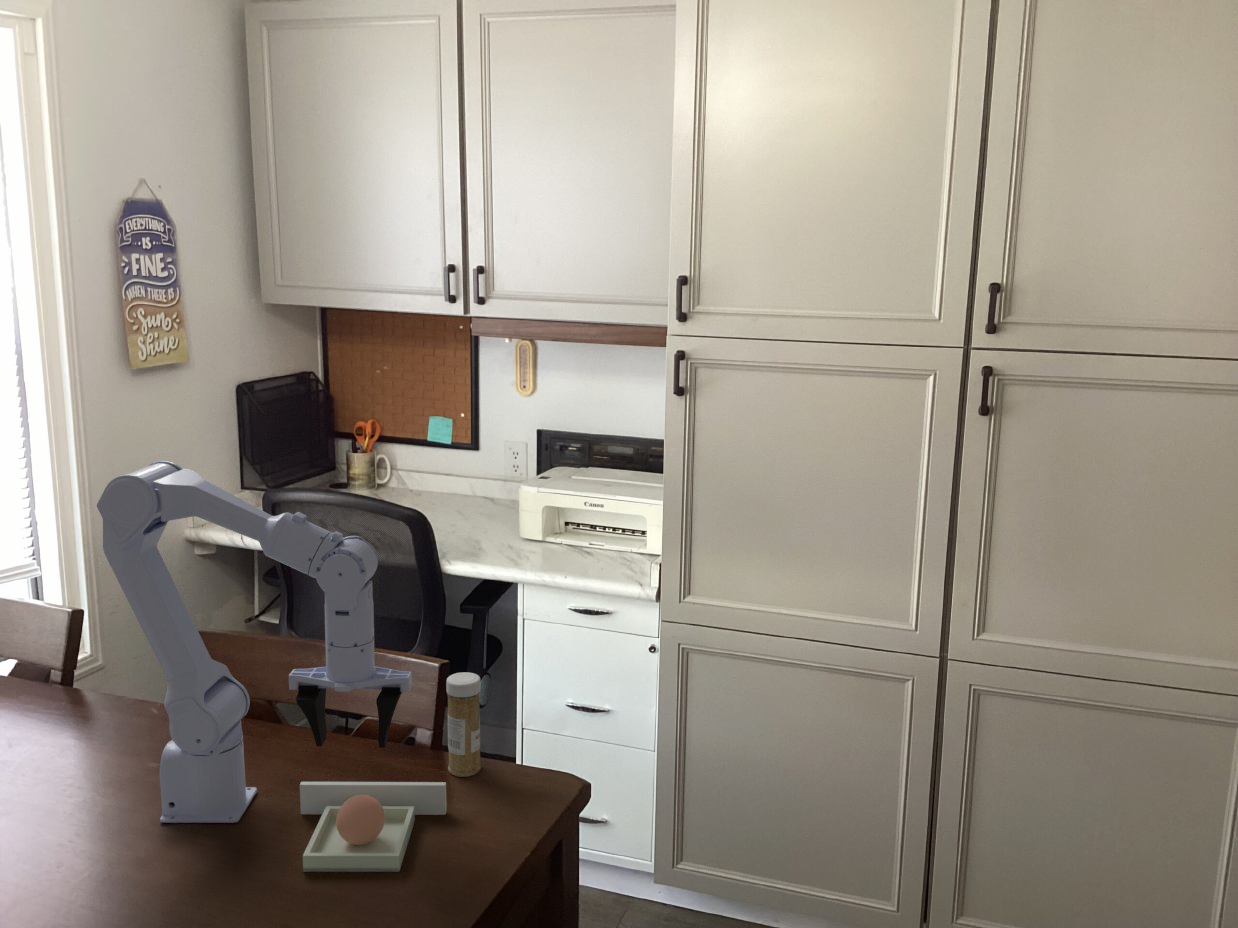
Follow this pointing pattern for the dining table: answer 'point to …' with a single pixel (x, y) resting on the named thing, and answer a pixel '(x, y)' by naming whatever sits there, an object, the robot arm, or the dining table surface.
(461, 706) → the spice bottle
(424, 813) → the acrylic wall
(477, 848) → the dining table surface
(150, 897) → the dining table surface
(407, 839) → the tray
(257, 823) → the dining table surface
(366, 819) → the ball
